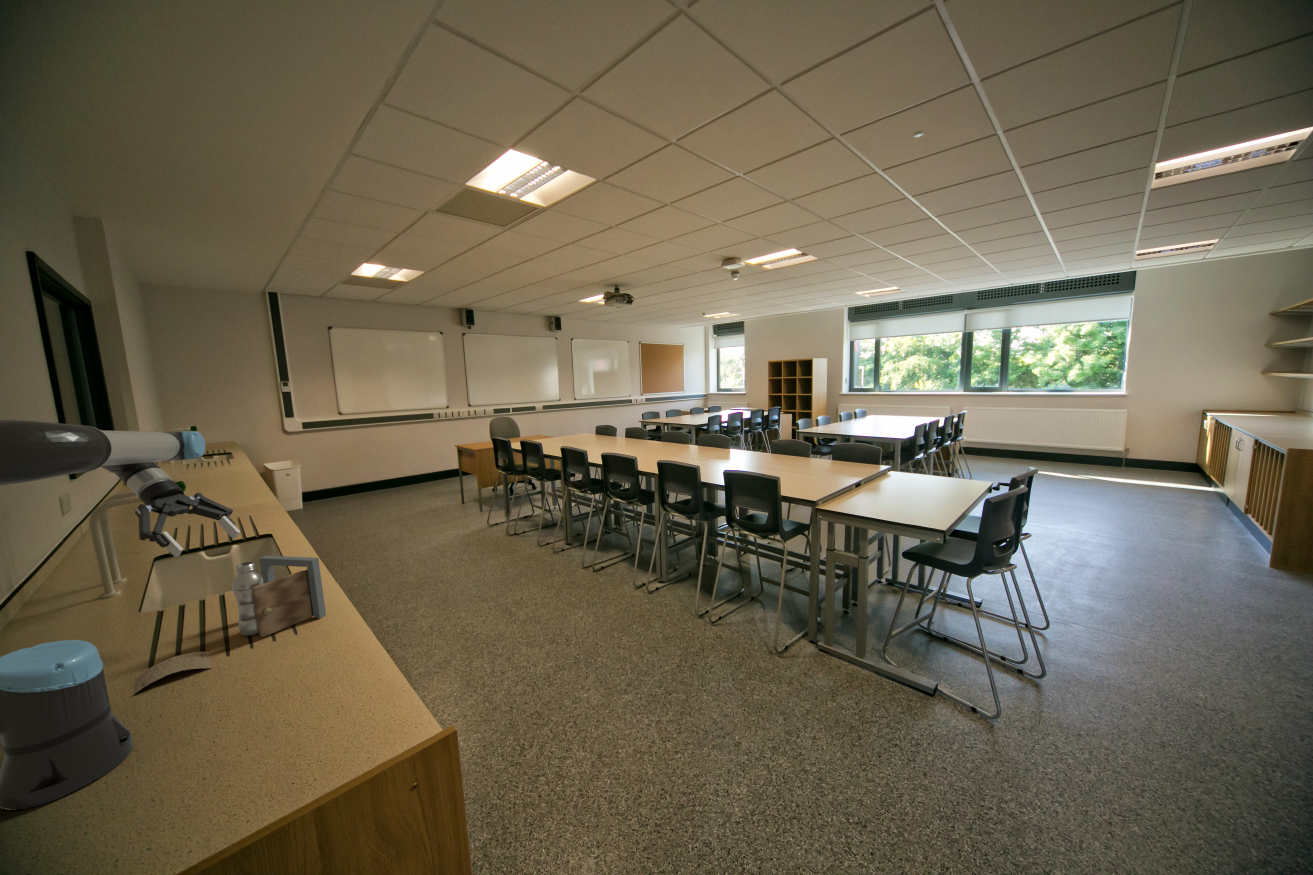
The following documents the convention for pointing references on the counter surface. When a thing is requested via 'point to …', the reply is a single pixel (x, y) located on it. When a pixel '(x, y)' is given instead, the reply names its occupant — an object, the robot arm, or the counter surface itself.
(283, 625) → the door
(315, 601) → the door frame
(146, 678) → the clay tablet
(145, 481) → the robot arm
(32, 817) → the counter surface
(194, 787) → the counter surface
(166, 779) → the counter surface
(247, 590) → the silver metal bottle
